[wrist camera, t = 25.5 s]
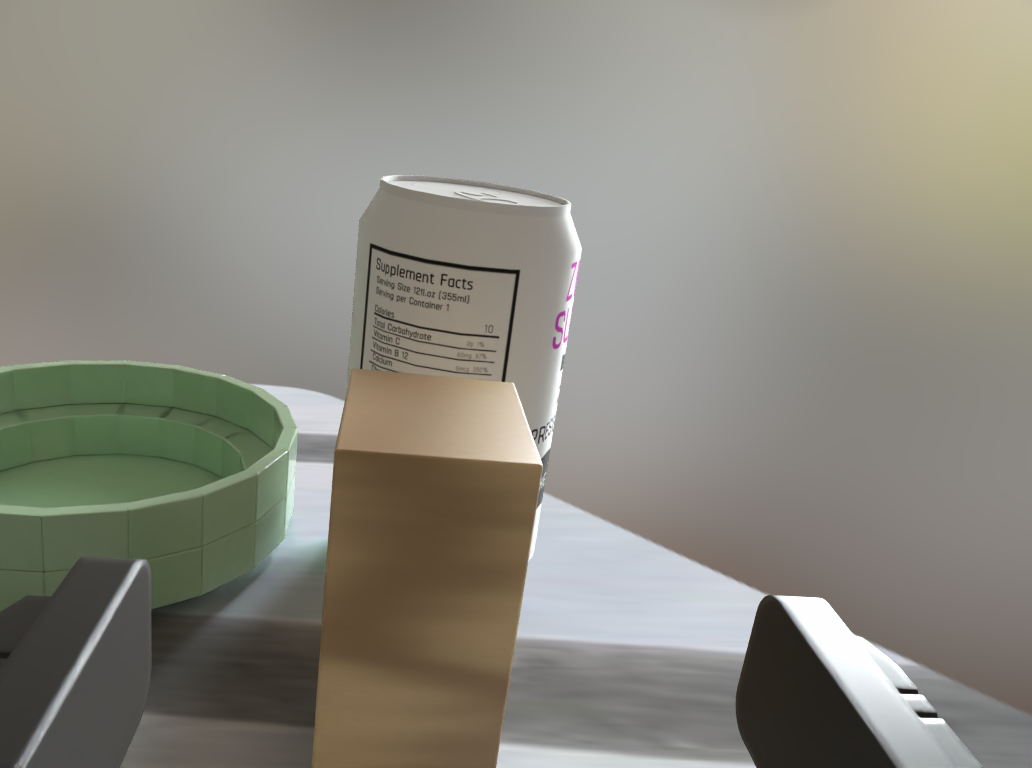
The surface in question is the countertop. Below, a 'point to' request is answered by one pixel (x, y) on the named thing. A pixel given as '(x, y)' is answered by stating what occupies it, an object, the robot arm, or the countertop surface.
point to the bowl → (139, 474)
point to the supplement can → (468, 289)
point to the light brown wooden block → (423, 571)
